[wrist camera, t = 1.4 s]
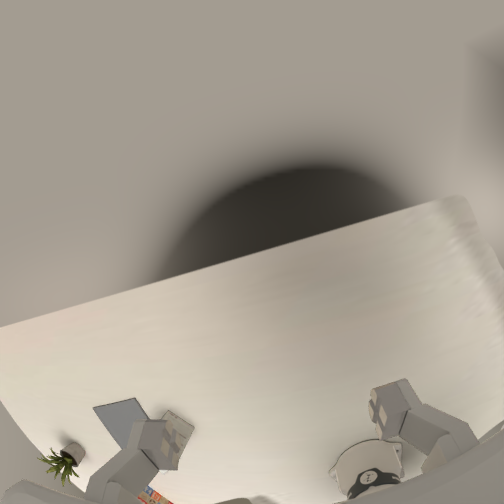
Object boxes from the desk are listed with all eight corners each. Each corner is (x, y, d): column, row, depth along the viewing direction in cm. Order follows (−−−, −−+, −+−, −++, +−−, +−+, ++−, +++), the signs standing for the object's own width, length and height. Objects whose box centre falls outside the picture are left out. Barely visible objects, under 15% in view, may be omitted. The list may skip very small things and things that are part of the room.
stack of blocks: (177, 505, 61) (165, 532, 49) (166, 509, 62) (154, 534, 50) (122, 465, 62) (104, 490, 50) (113, 470, 63) (96, 493, 50)
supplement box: (181, 442, 58) (163, 475, 46) (155, 425, 58) (134, 456, 46) (195, 427, 57) (179, 462, 45) (168, 409, 58) (147, 441, 45)
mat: (178, 458, 59) (178, 459, 58) (134, 462, 61) (133, 463, 60) (135, 397, 58) (134, 398, 58) (93, 407, 60) (92, 408, 60)
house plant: (66, 421, 63) (35, 448, 47) (101, 452, 62) (74, 483, 46) (57, 439, 64) (30, 463, 48) (89, 467, 64) (65, 495, 48)
